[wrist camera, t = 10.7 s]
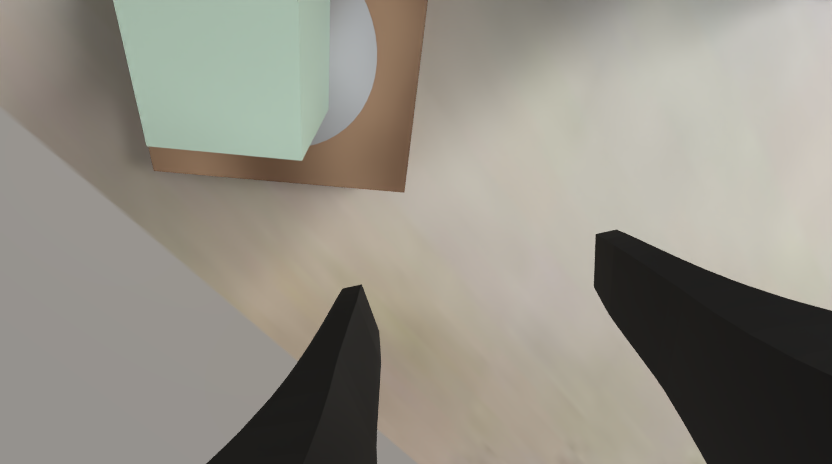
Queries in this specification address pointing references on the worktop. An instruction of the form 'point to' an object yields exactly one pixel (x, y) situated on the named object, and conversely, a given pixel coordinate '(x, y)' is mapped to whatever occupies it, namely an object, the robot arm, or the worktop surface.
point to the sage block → (229, 73)
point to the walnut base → (345, 107)
